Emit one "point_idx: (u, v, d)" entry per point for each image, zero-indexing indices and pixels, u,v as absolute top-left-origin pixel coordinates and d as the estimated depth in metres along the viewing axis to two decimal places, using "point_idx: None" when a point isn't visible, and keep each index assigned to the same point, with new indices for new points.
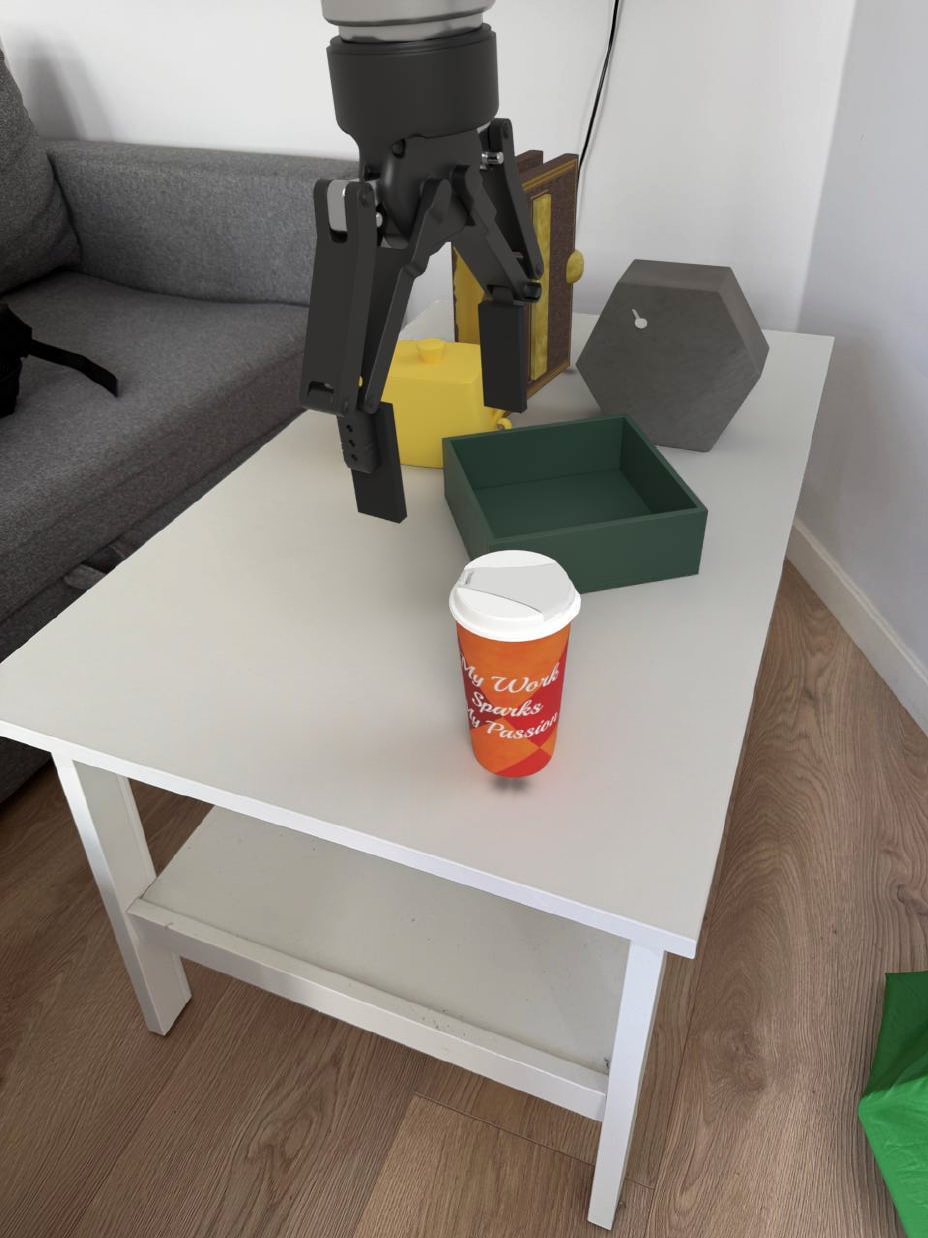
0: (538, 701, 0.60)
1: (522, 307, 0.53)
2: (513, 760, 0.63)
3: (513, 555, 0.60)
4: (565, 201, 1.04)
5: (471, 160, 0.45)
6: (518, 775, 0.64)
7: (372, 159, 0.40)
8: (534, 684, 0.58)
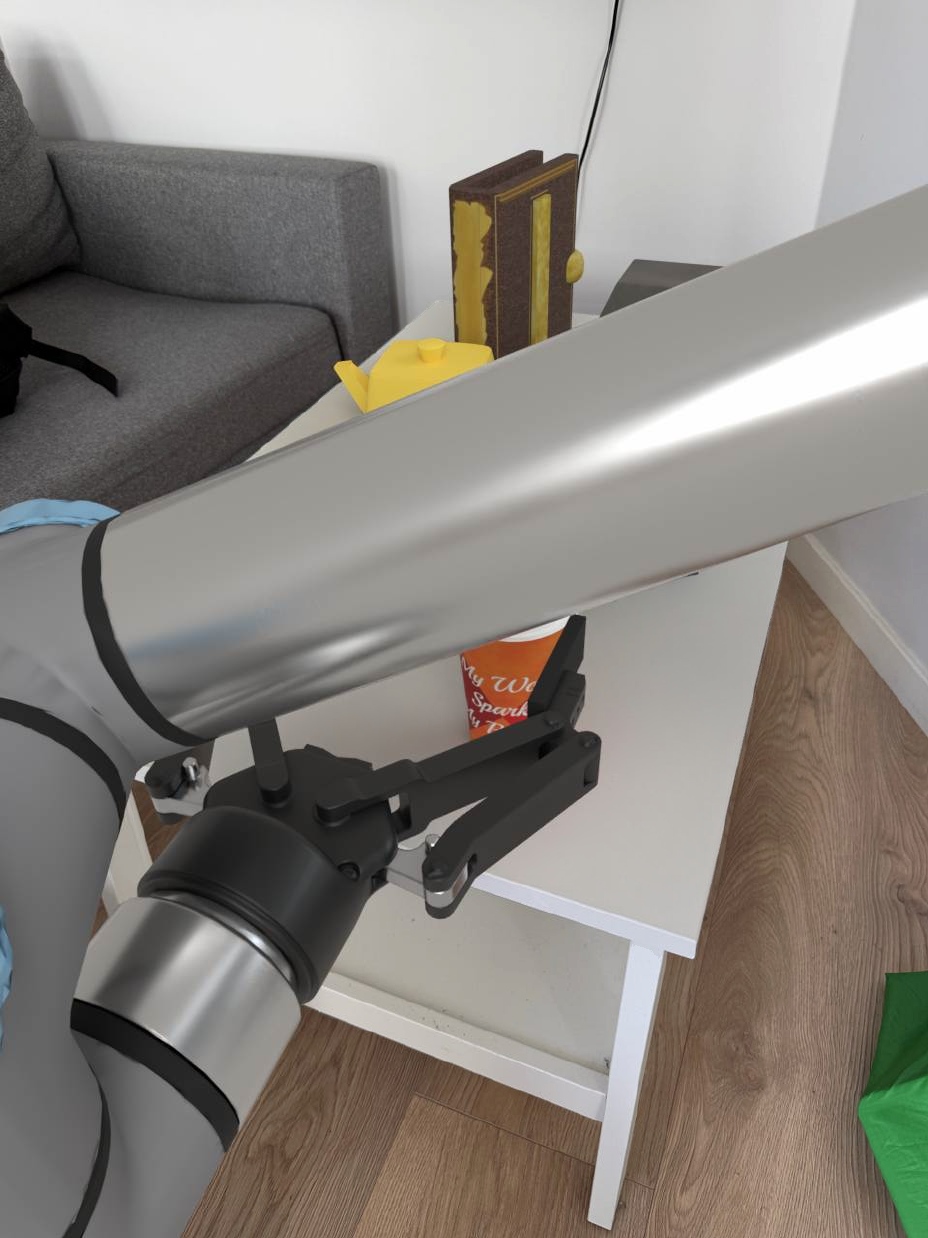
0: None
1: None
2: None
3: None
4: (565, 201, 1.04)
5: (240, 790, 0.37)
6: None
7: (369, 886, 0.34)
8: (534, 684, 0.58)
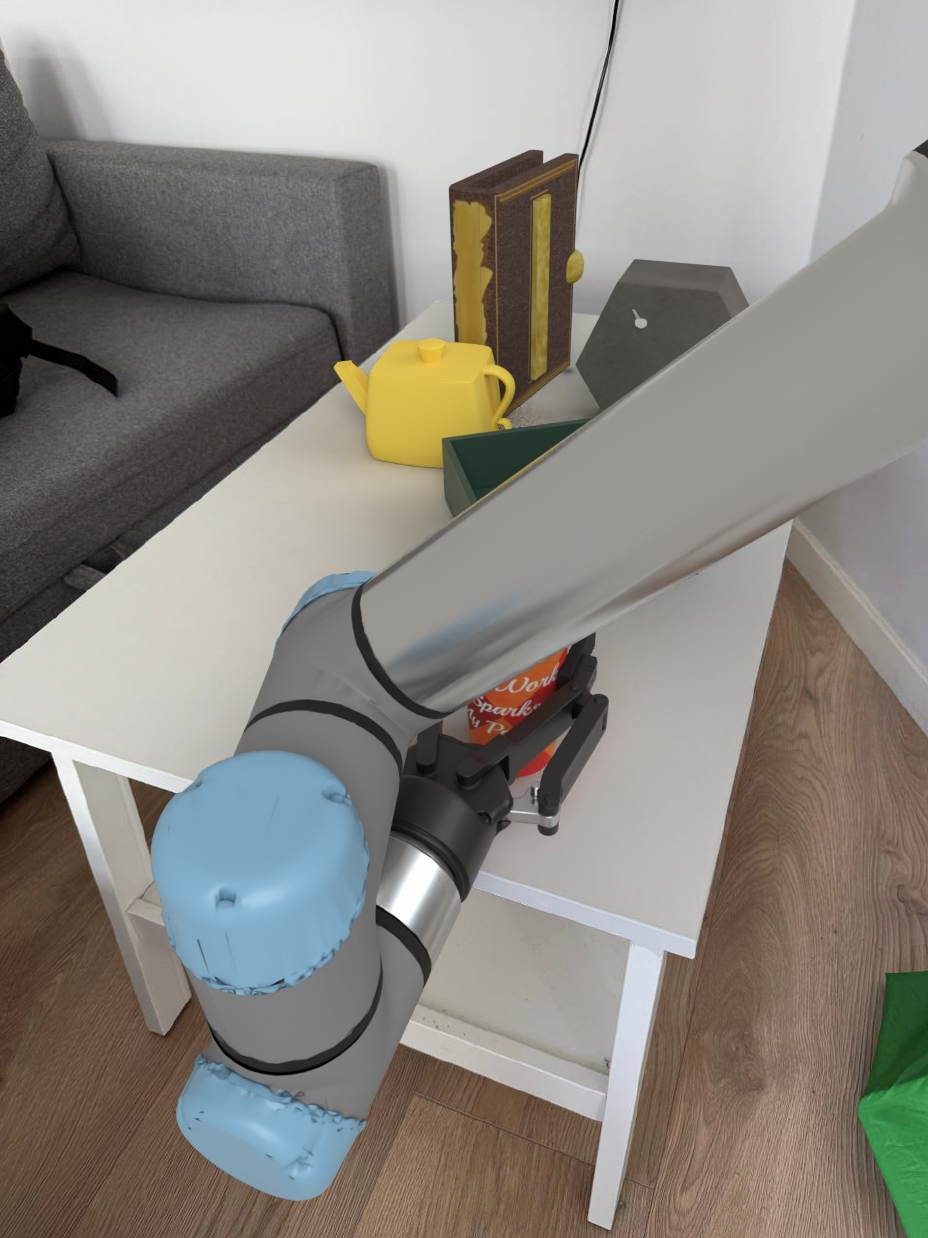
0: (538, 701, 0.60)
1: None
2: None
3: None
4: (565, 201, 1.04)
5: None
6: (518, 775, 0.64)
7: (496, 828, 0.51)
8: (534, 684, 0.58)
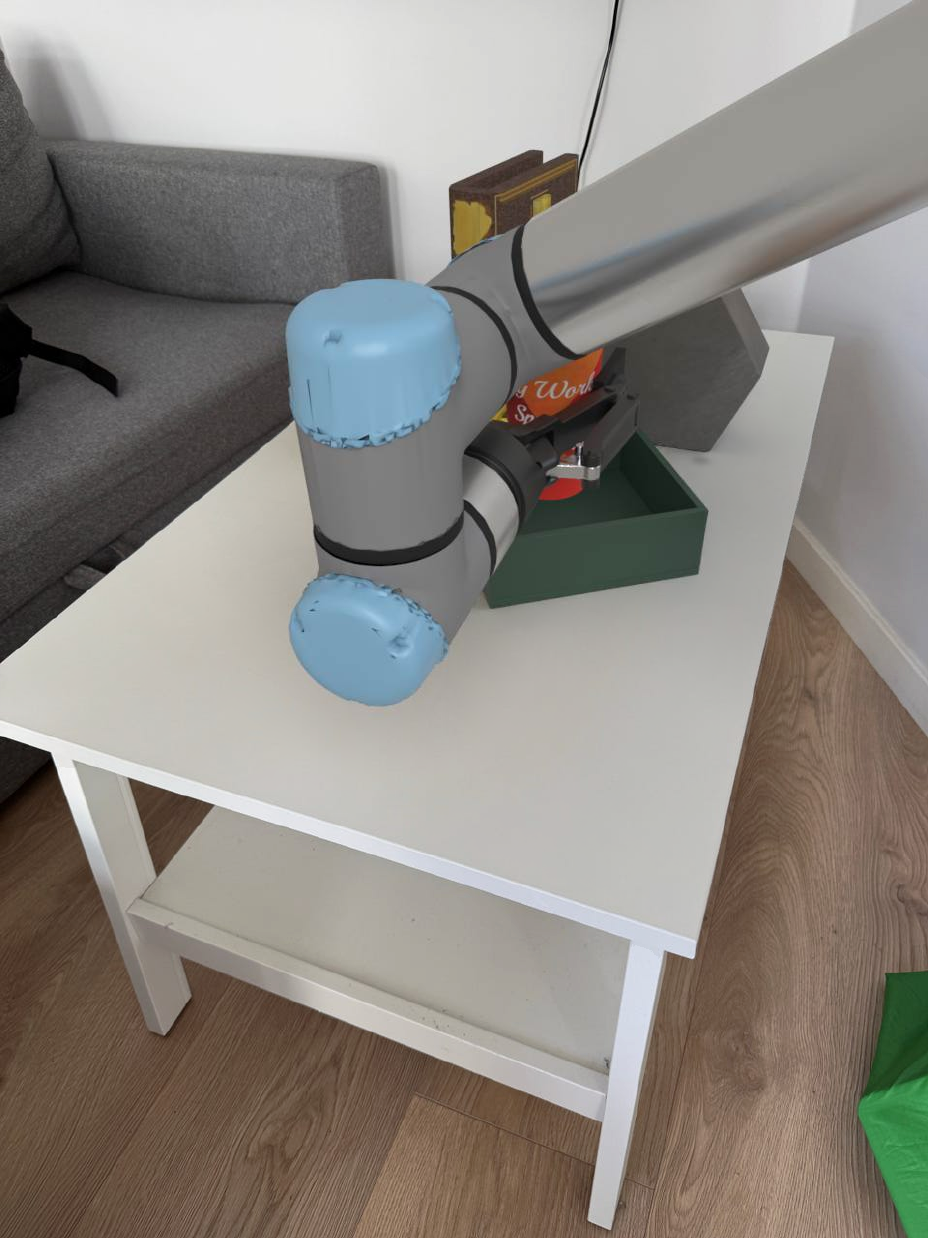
0: None
1: None
2: None
3: None
4: None
5: None
6: (555, 497, 0.71)
7: (545, 479, 0.58)
8: (572, 390, 0.65)
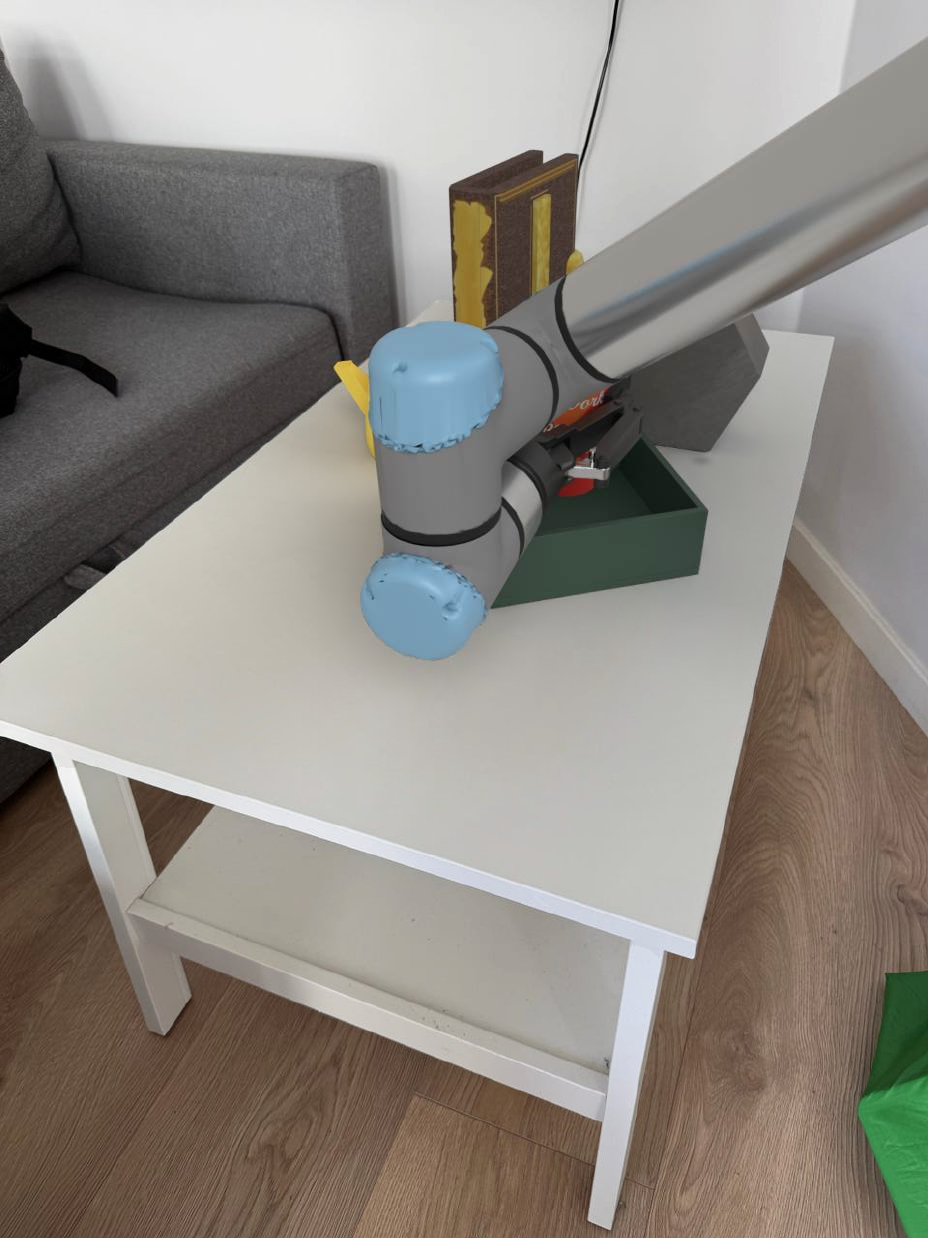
0: None
1: None
2: None
3: None
4: (565, 201, 1.04)
5: None
6: (570, 494, 0.82)
7: (563, 478, 0.69)
8: (586, 403, 0.76)
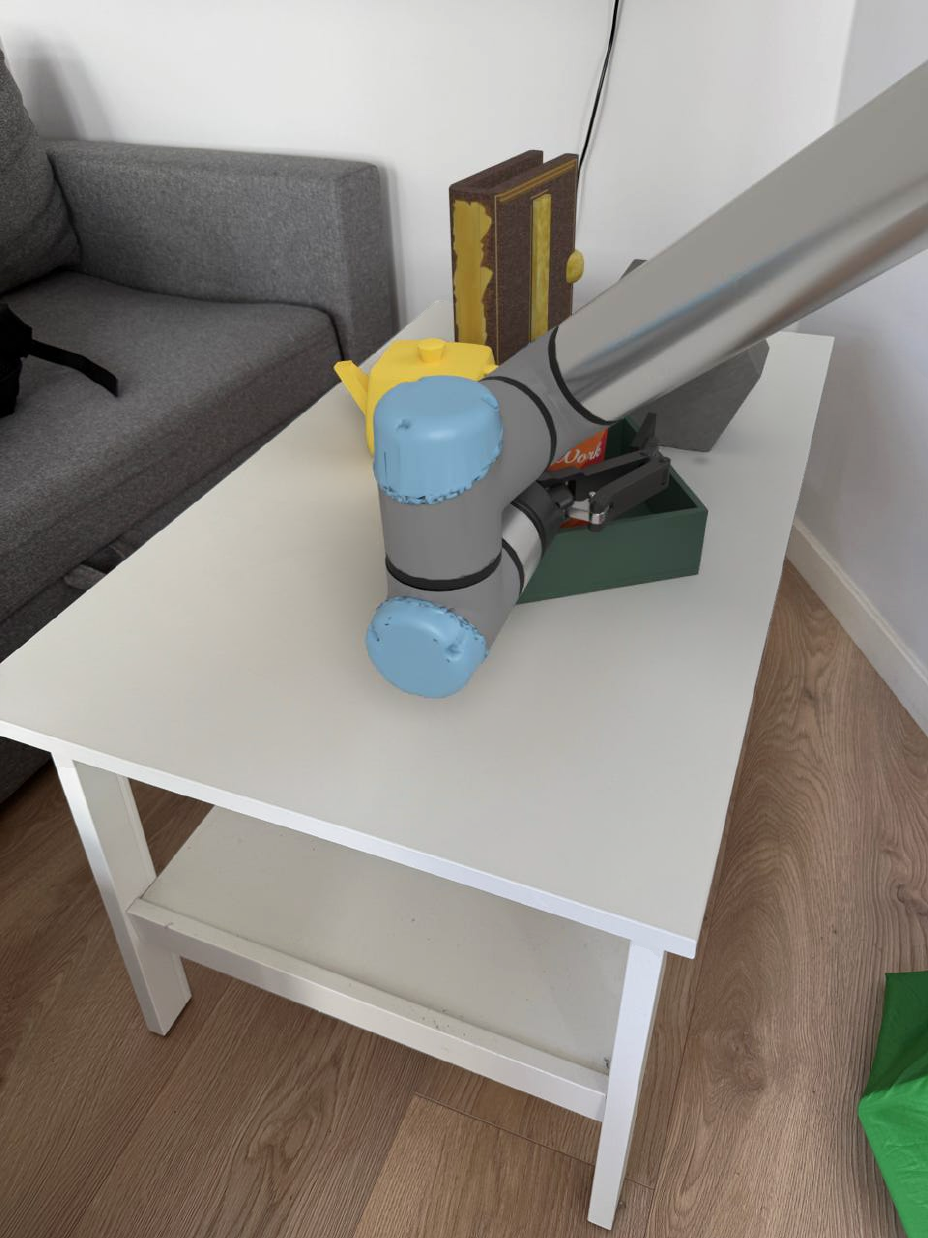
0: None
1: None
2: (564, 526, 0.84)
3: None
4: (565, 201, 1.04)
5: None
6: None
7: (562, 516, 0.71)
8: (583, 456, 0.80)
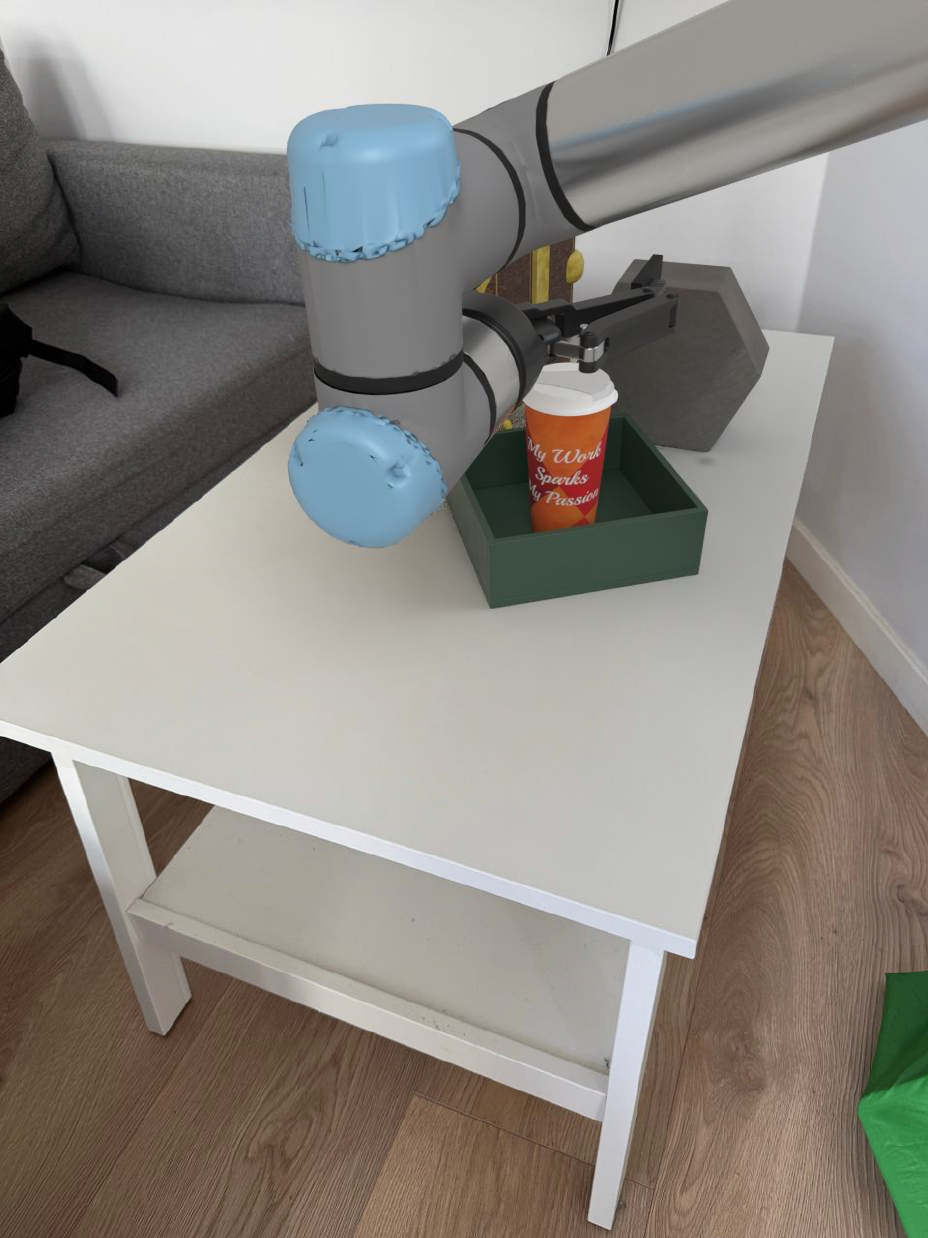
0: (585, 472, 0.81)
1: None
2: (564, 526, 0.84)
3: (567, 365, 0.81)
4: None
5: None
6: None
7: (547, 353, 0.58)
8: (583, 456, 0.80)
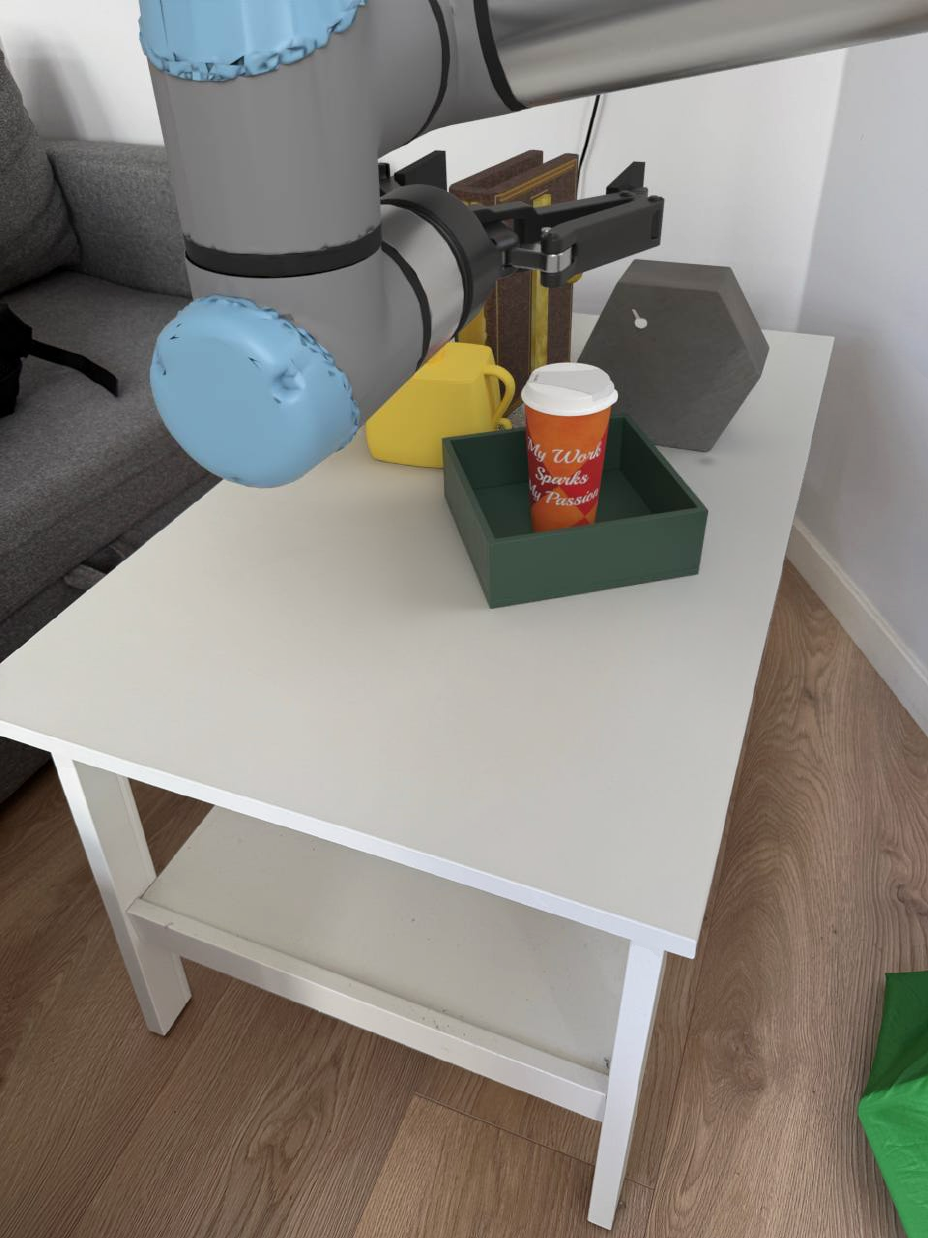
0: (585, 472, 0.81)
1: (396, 173, 0.57)
2: (564, 526, 0.84)
3: (567, 365, 0.81)
4: (565, 201, 1.04)
5: None
6: None
7: (501, 262, 0.47)
8: (583, 456, 0.80)
